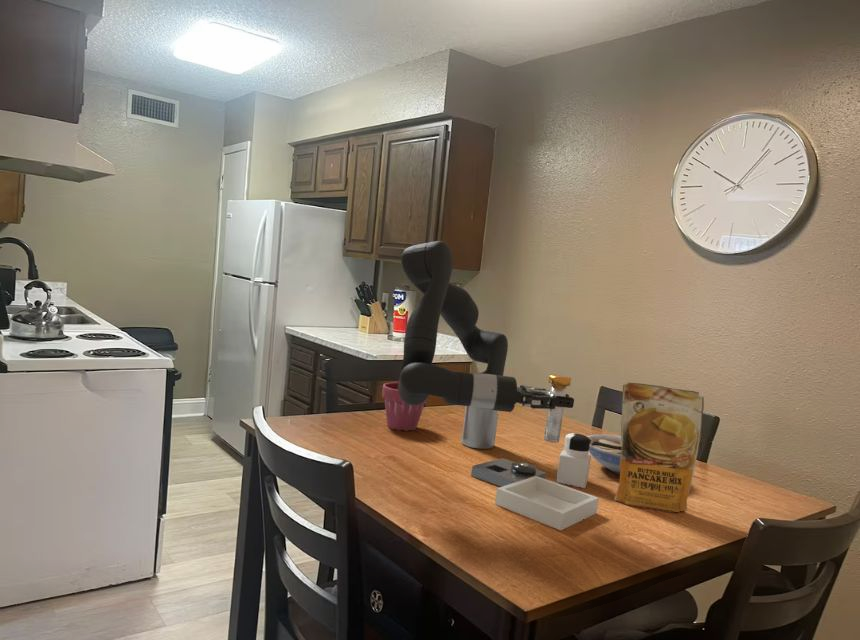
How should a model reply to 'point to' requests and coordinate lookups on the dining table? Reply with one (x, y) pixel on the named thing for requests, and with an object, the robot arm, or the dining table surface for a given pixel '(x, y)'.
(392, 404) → the plant pot
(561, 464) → the medicine bottle
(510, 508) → the tray
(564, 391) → the pin
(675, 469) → the pancake mix bag
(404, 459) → the dining table surface
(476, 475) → the grey flat square block
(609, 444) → the ramen bowl
